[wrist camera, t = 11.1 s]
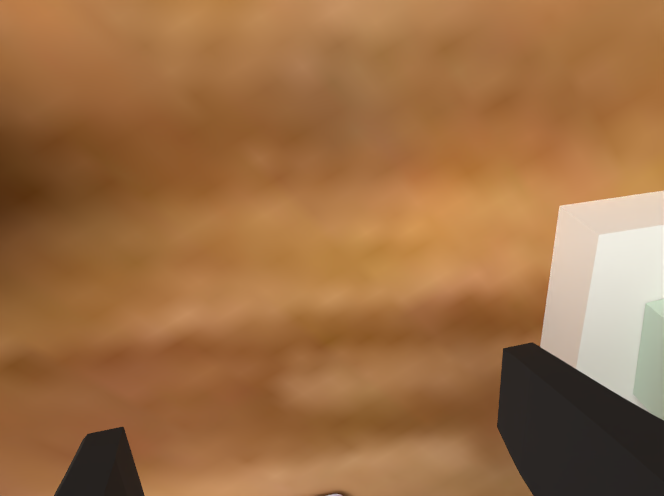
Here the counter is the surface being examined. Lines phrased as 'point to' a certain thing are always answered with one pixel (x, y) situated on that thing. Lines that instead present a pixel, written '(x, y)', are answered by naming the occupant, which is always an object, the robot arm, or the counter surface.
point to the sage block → (651, 360)
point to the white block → (605, 286)
